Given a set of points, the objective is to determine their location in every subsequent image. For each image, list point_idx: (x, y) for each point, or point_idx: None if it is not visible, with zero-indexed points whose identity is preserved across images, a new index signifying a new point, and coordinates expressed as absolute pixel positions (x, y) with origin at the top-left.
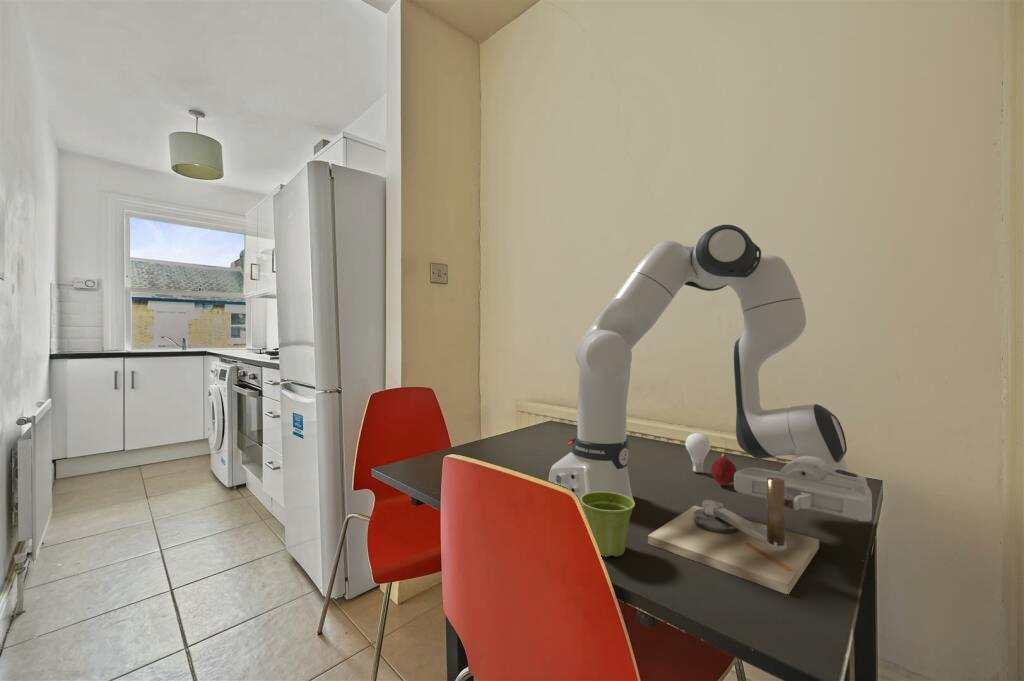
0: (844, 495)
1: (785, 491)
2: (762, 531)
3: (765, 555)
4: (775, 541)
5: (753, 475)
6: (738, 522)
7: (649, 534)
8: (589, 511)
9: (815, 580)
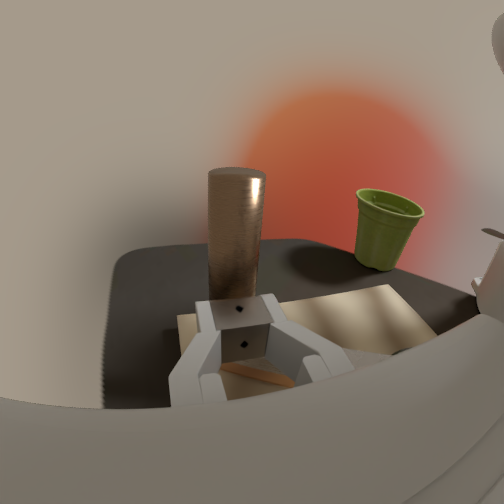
0: (7, 403)
1: (304, 378)
2: None
3: (254, 368)
4: None
5: (470, 339)
6: (346, 350)
7: (390, 287)
8: (374, 196)
9: (162, 403)
